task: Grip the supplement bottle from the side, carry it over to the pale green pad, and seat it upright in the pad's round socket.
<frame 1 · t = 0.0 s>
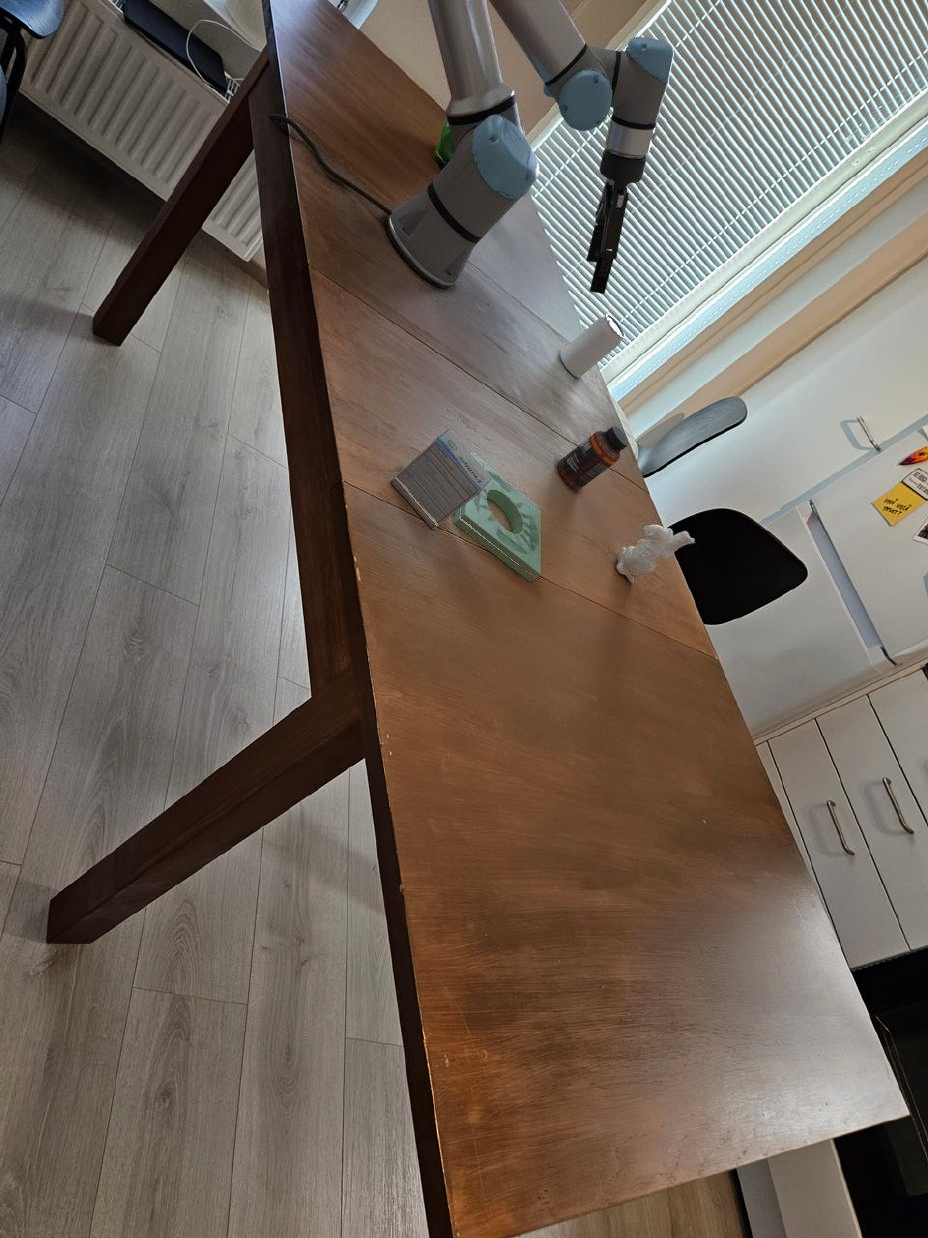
hand: (595, 276, 150), 15 cm above the table, tool tilted 35°, fingers open, 13 cm apart
medicine box: (416, 501, 97), on the table
can: (568, 366, 163), on the table
socket pad: (495, 519, 109), on the table
koala figurine: (621, 570, 131), on the table
supplement bottle: (567, 476, 134), on the table
piggy bank: (449, 168, 171), on the table
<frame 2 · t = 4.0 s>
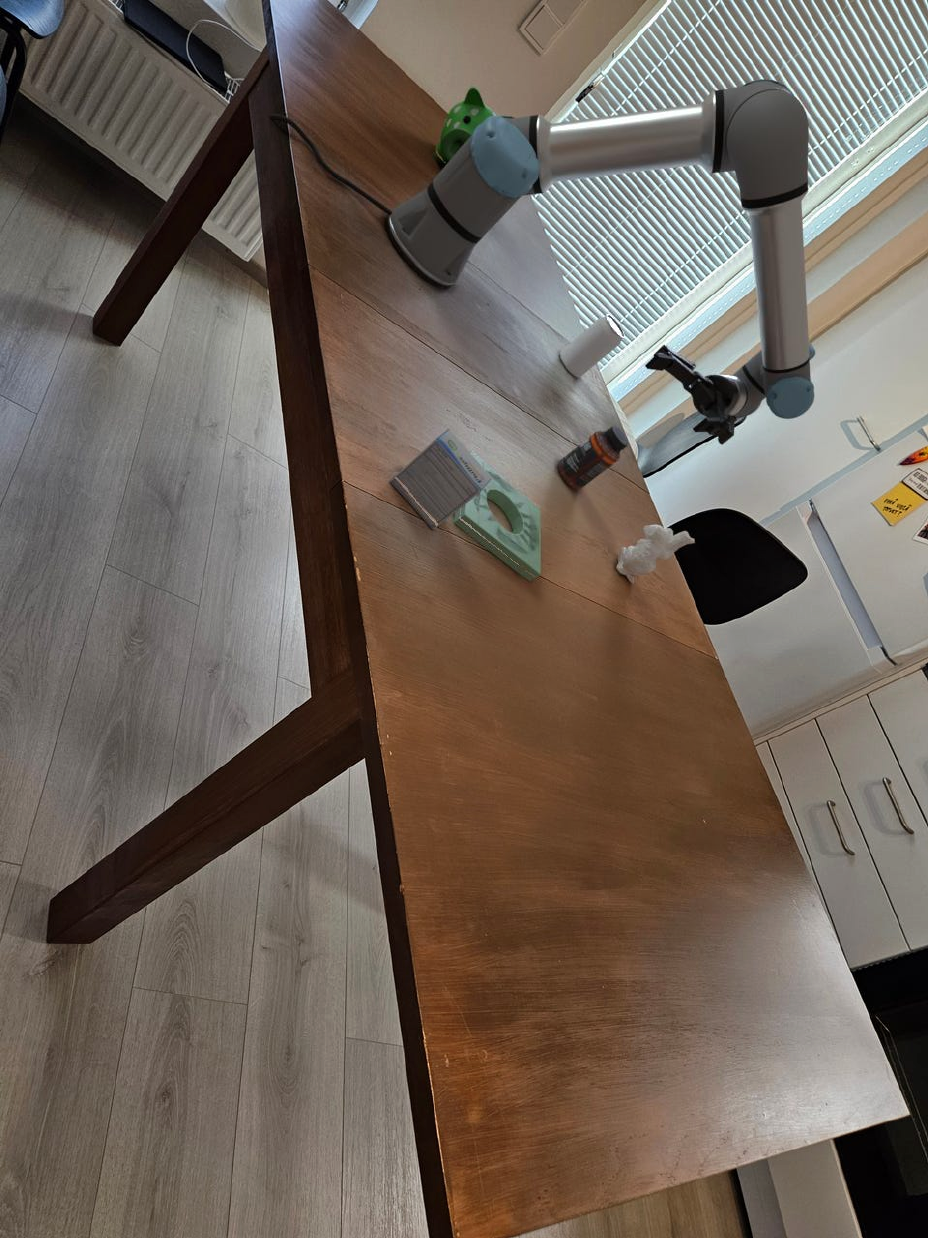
hand: (675, 392, 131), 20 cm above the table, tool horizontal, fingers open, 13 cm apart
nothing on the table moved.
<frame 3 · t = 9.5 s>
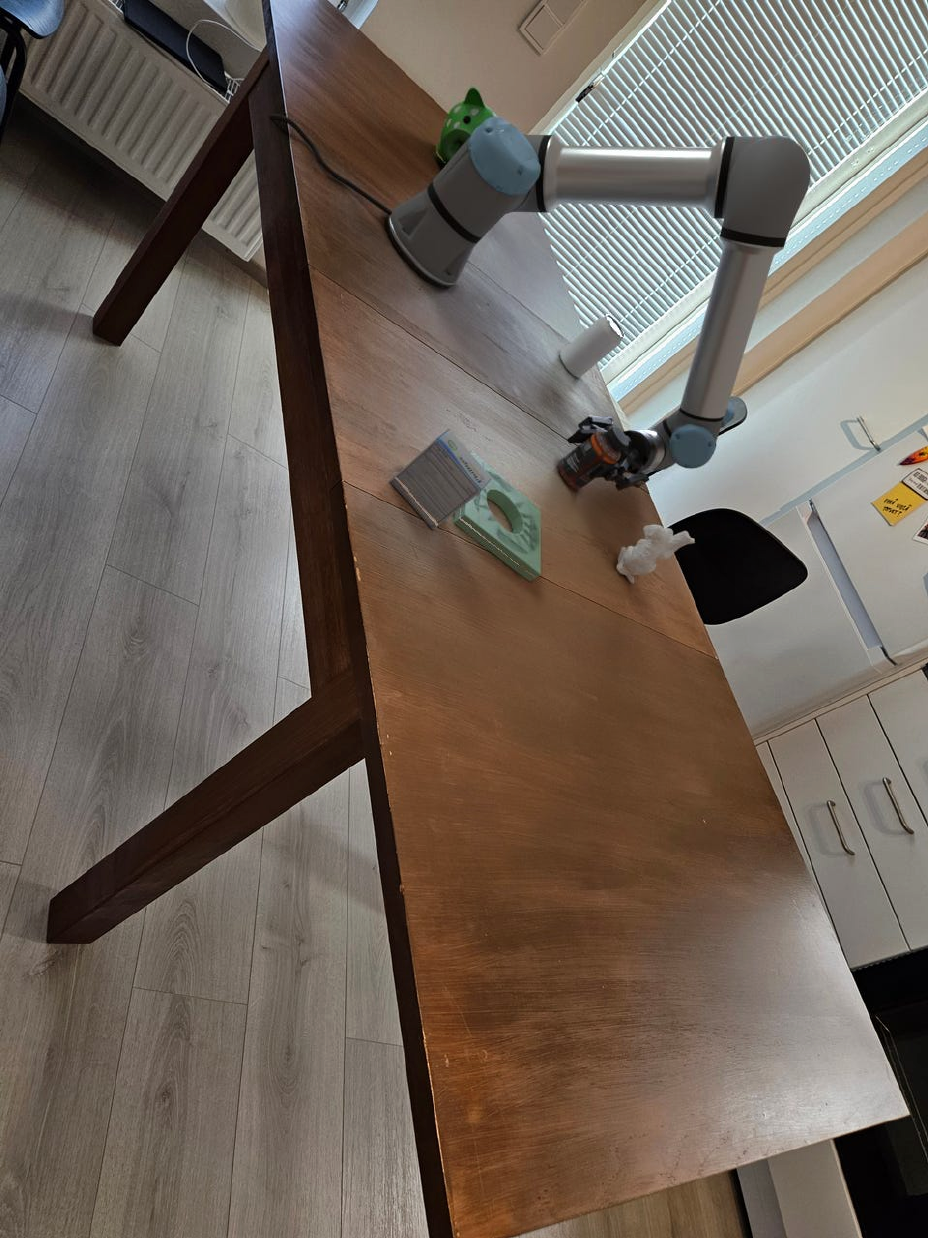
hand: (585, 453, 126), 7 cm above the table, tool horizontal, fingers closed on supplement bottle, 6 cm apart
supplement bottle: (567, 476, 134), on the table, touching gripper
everything else where it was.
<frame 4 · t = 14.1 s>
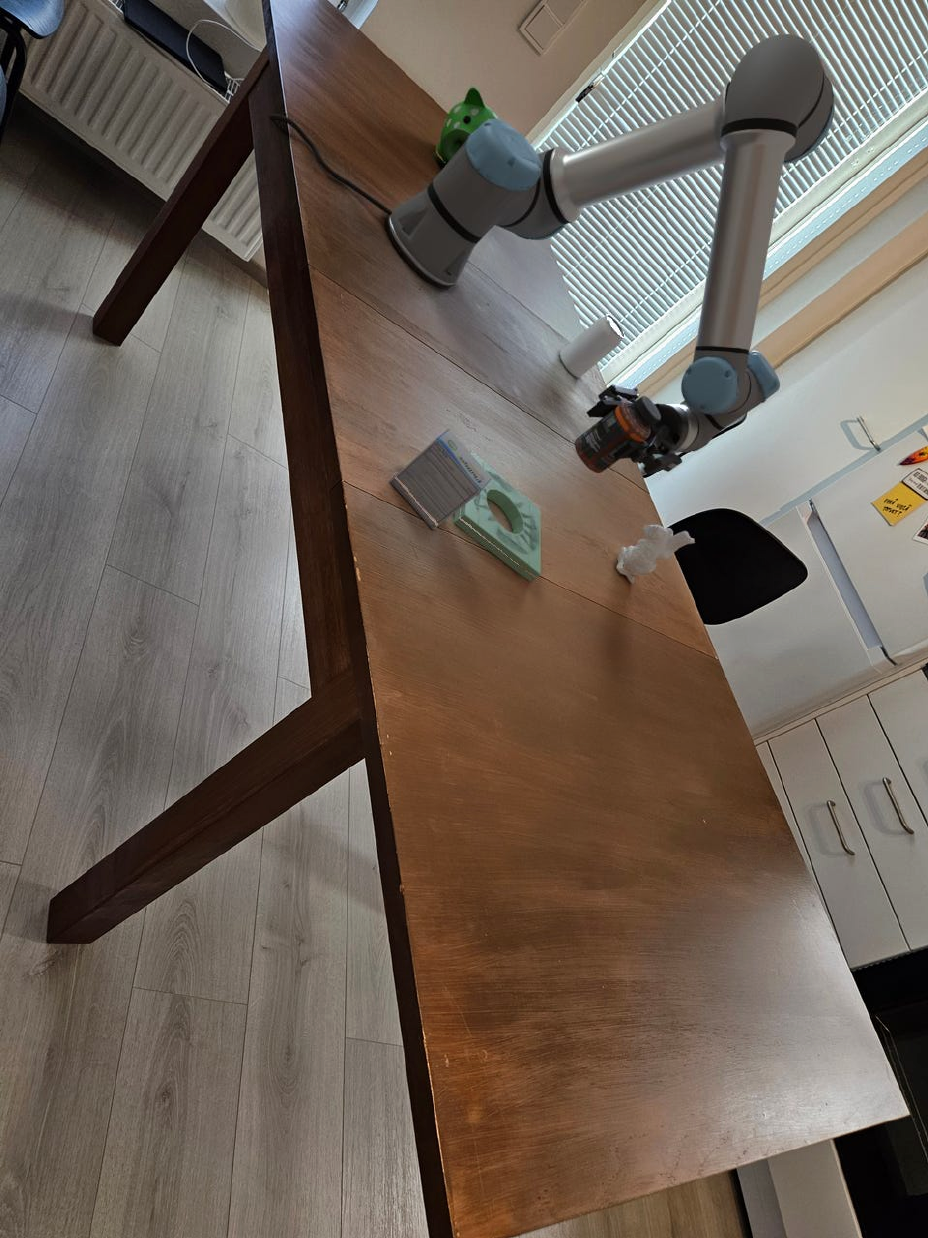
hand: (609, 429, 104), 18 cm above the table, tool horizontal, fingers closed on supplement bottle, 6 cm apart
supplement bottle: (585, 458, 112), point 11 cm above the table, touching gripper
everything else where it was.
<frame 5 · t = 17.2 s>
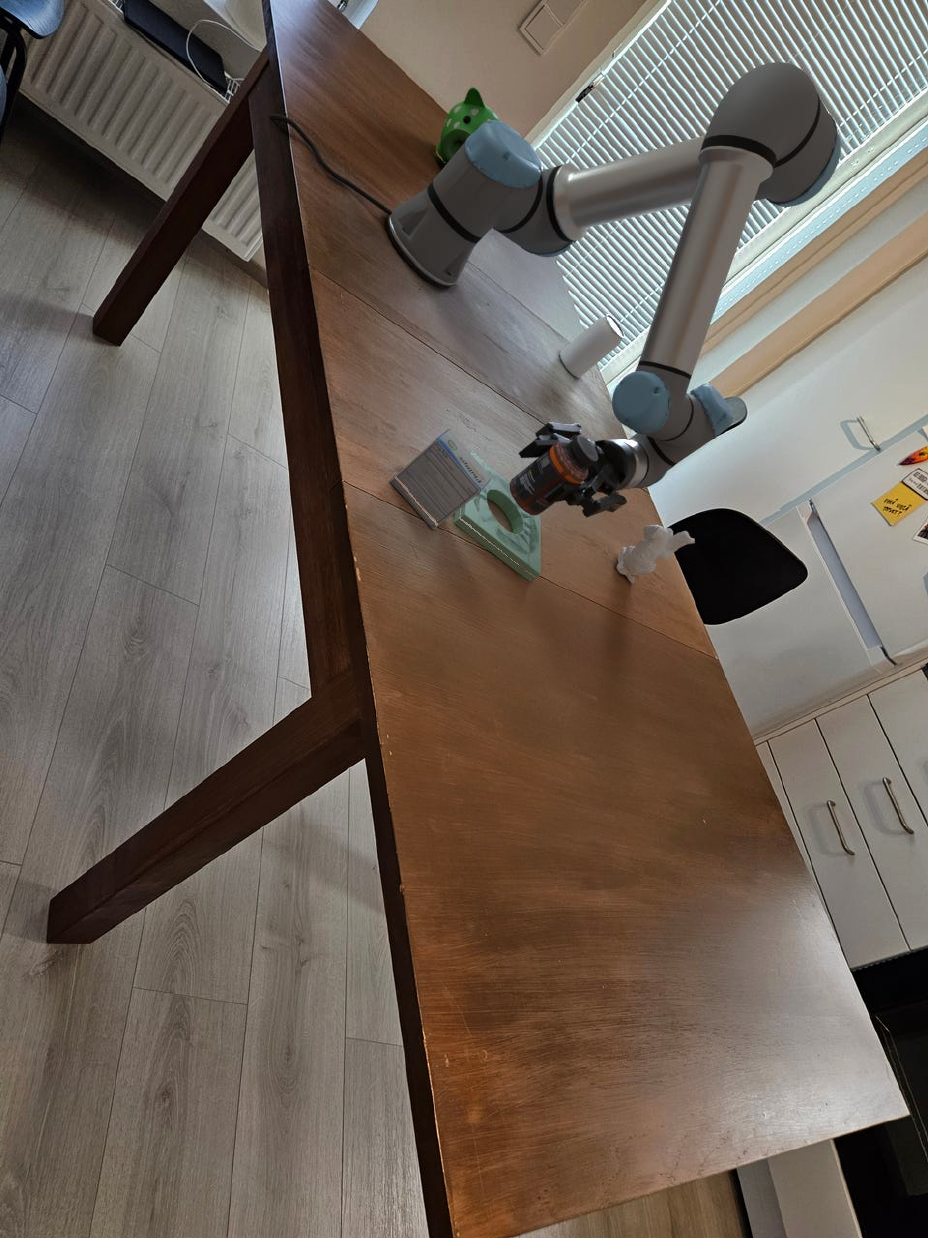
hand: (541, 471, 98), 12 cm above the table, tool horizontal, fingers closed on supplement bottle, 6 cm apart
supplement bottle: (521, 499, 106), point 5 cm above the table, touching gripper
everything else where it was.
when the fingers open (6 cm above the table, at t = 19.1 s): supplement bottle stays where it is, resting in socket pad.
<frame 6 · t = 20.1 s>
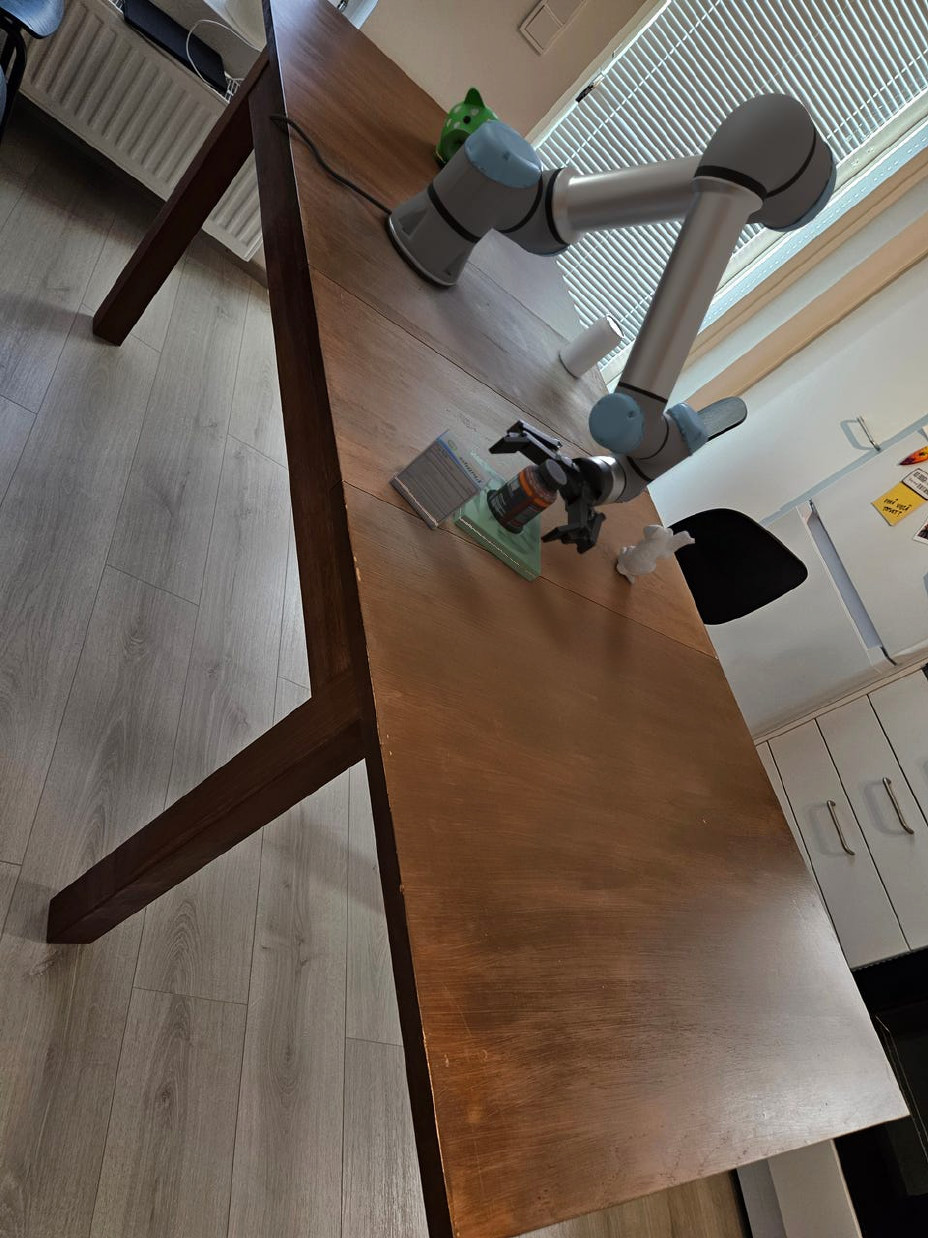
hand: (523, 489, 102), 7 cm above the table, tool horizontal, fingers open, 13 cm apart
supplement bottle: (494, 520, 109), resting in socket pad
everything else where it was.
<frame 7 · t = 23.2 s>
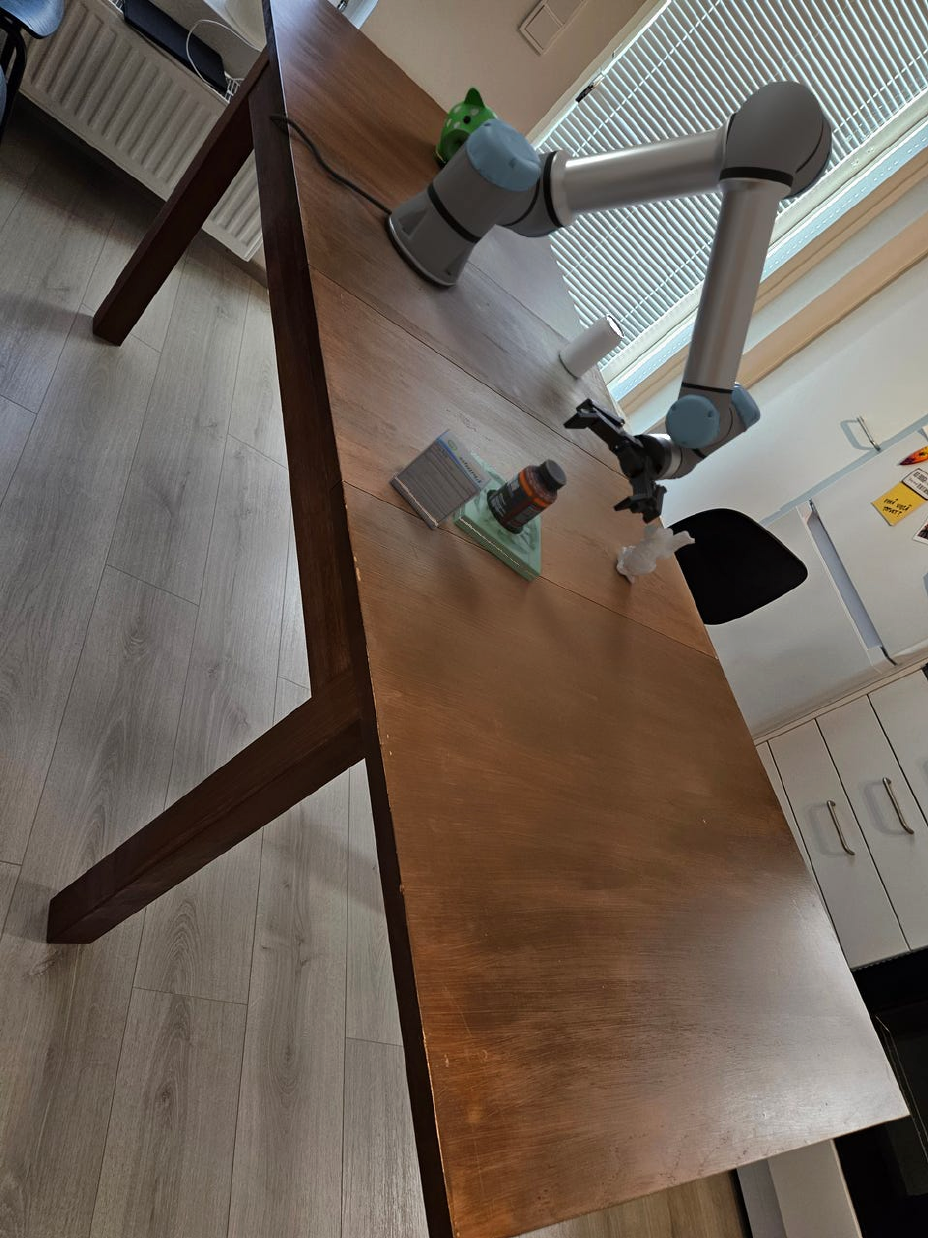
hand: (596, 461, 109), 13 cm above the table, tool horizontal, fingers open, 13 cm apart
nothing on the table moved.
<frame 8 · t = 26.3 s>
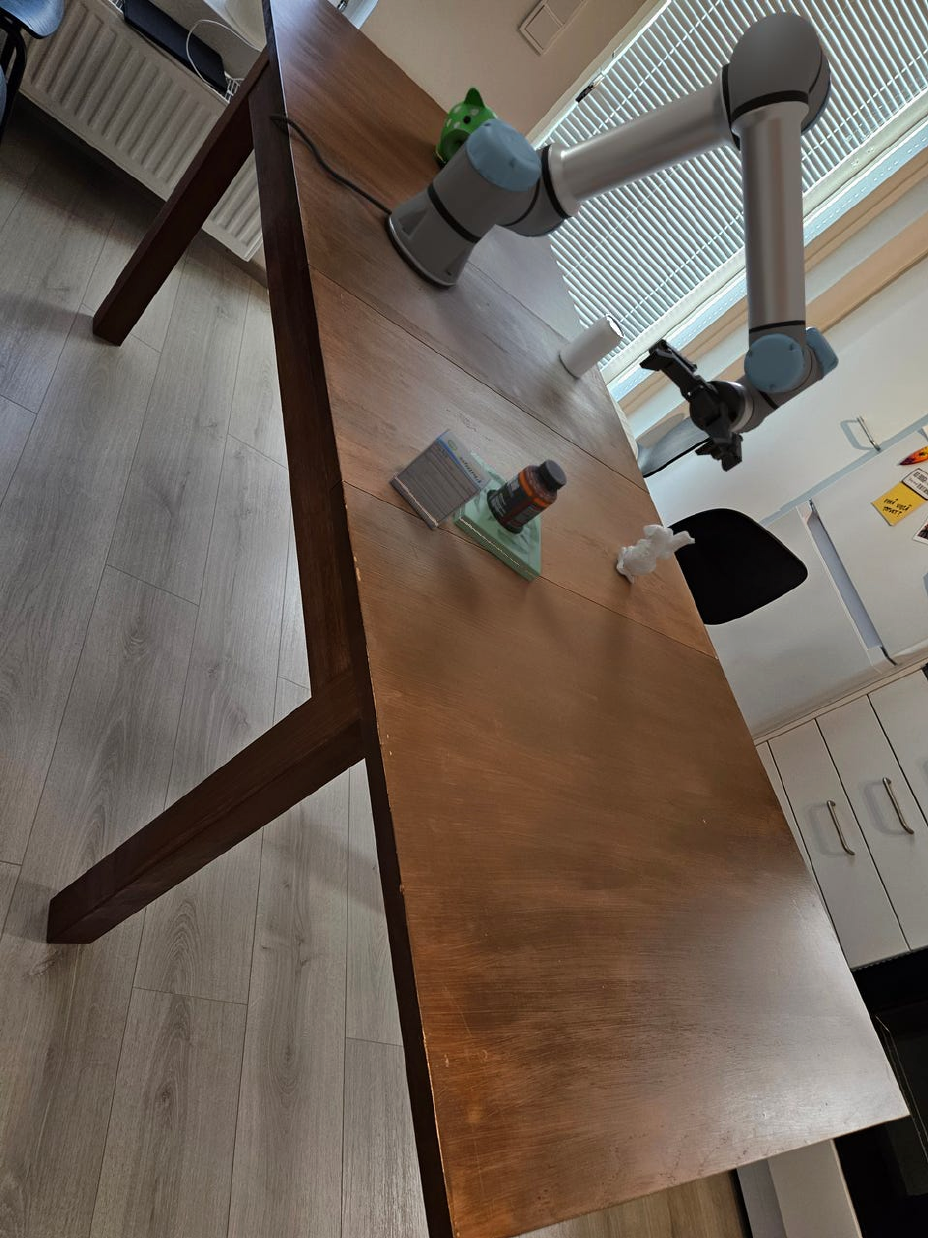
hand: (676, 402, 102), 26 cm above the table, tool horizontal, fingers open, 13 cm apart
nothing on the table moved.
at the end: supplement bottle 0.0 cm off-centre in the socket pad, point 0.0 cm above the socket pad's base; supplement bottle tilted 0°; the gripper is holding nothing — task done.
